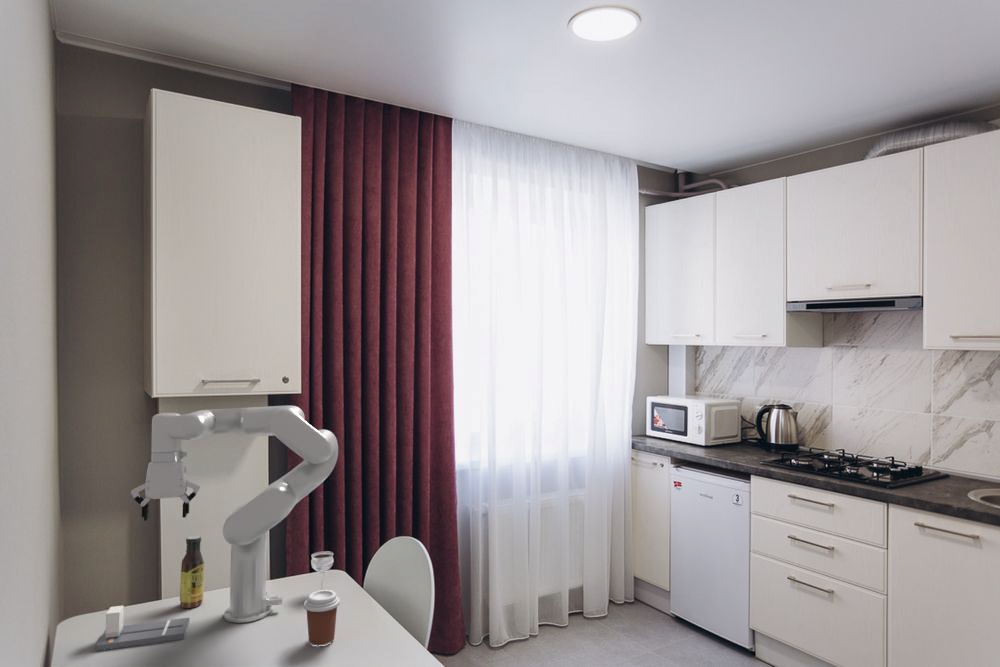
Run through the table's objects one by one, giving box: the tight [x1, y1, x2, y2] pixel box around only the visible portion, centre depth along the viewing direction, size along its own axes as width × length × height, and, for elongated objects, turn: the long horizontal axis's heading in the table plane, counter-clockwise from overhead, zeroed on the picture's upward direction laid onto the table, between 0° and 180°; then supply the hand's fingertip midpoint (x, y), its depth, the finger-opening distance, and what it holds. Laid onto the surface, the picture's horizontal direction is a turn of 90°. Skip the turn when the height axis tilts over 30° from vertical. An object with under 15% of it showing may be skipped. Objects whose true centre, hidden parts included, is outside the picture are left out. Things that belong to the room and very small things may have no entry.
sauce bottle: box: [179, 535, 205, 609], centre depth 184 cm, size 7×6×20 cm
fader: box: [105, 605, 125, 638], centre depth 161 cm, size 3×5×6 cm, turn 19°
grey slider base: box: [95, 617, 191, 652], centre depth 164 cm, size 20×10×2 cm, turn 109°
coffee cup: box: [303, 589, 341, 646], centre depth 161 cm, size 9×9×12 cm
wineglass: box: [310, 550, 335, 590], centre depth 192 cm, size 7×7×12 cm
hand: (165, 517), depth 174 cm, fingers open, 9 cm apart
